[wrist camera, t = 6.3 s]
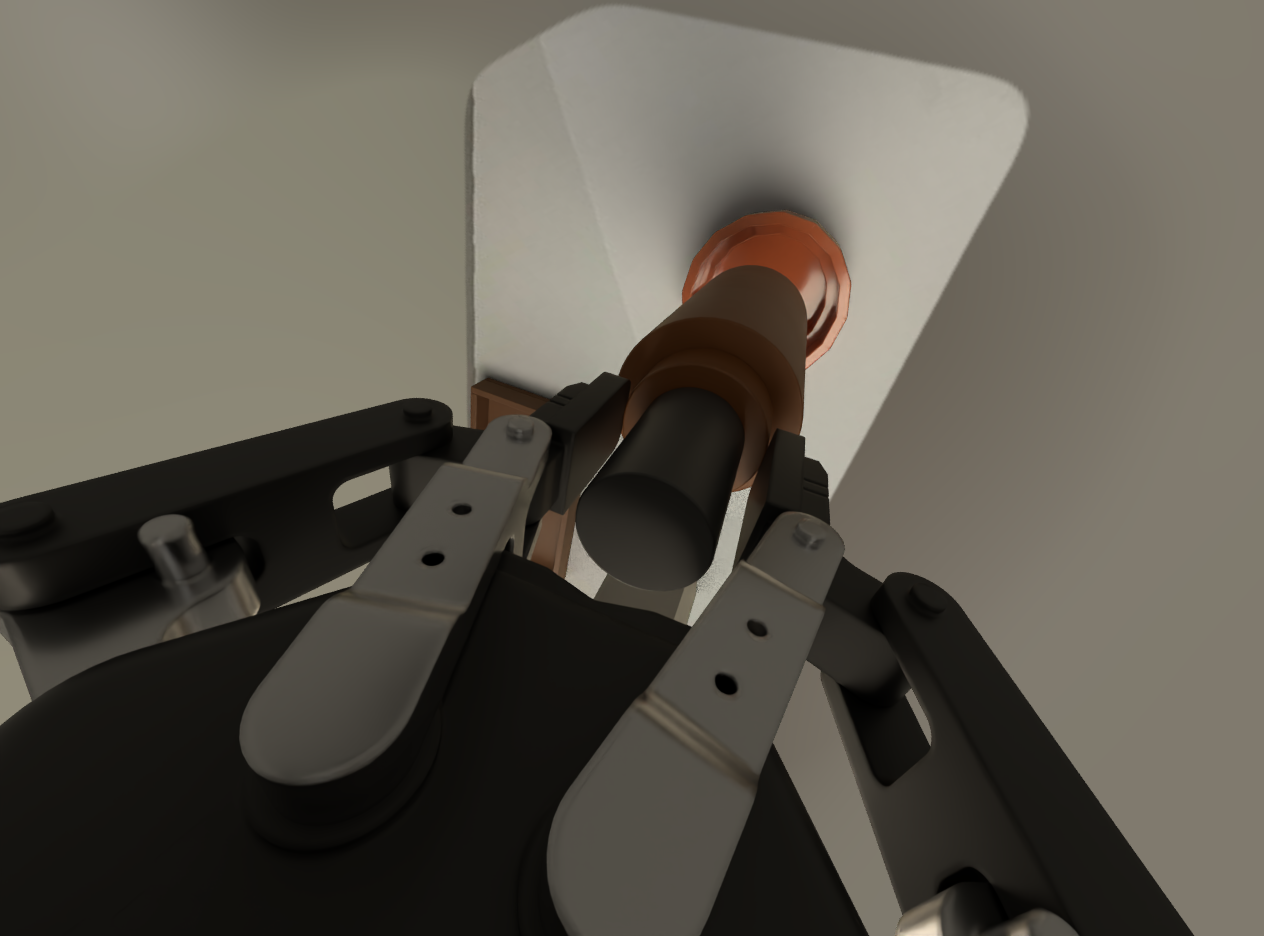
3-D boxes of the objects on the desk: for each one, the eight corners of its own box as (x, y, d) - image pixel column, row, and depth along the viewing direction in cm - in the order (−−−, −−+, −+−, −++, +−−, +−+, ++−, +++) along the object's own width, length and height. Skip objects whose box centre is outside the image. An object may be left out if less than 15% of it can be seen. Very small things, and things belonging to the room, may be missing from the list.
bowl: (677, 256, 33) (657, 264, 29) (817, 178, 28) (817, 175, 24) (729, 378, 36) (718, 402, 32) (864, 326, 31) (871, 346, 27)
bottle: (671, 297, 23) (461, 454, 9) (783, 241, 21) (720, 344, 7) (715, 396, 25) (594, 652, 11) (823, 357, 22) (841, 629, 8)
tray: (487, 377, 43) (470, 386, 41) (594, 414, 41) (582, 426, 39) (482, 542, 55) (468, 556, 52) (565, 577, 53) (554, 593, 51)
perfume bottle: (633, 579, 49) (555, 742, 35) (632, 528, 46) (546, 684, 31) (696, 594, 47) (642, 772, 33) (699, 542, 44) (641, 715, 29)
